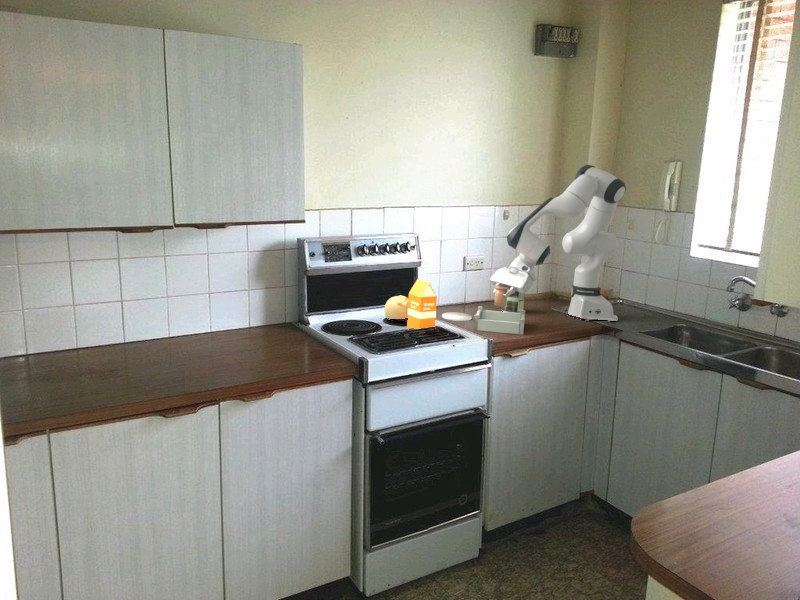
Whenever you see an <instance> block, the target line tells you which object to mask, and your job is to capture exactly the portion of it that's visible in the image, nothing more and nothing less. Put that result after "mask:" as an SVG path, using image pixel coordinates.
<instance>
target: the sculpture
mask: <svg viewBox="0 0 800 600" xmlns="http://www.w3.org/2000/svg"><path fill="white" fill-rule="evenodd" d="M408 300H409V297H408V296H405V295H403V294H402V295H401V294H400V295H395V296H392V297H390V298H389V299H388V300H387V301H386V303H385V305H384V314H385V317H386V318H387V319H388V318H389V319H388V320H390V319H405V318H408Z"/></svg>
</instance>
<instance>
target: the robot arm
mask: <svg viewBox="0 0 800 600" xmlns="http://www.w3.org/2000/svg"><path fill="white" fill-rule="evenodd" d="M626 191H627V187H626V183H625V182H624V181H623V180H622V179H621V178H617V176H615V175H613V174H612V173H610V172H608V171H605V170H602V169H601V168H598V167H596V166H595V165H591V164H585V165H583V166H581V167H580V168H579V169H578V170H577V171H576V174H575V177H574V180H573V181H572V182H571V183H570V184H569V185H568V186H567V188H566V189H565V190H564V191H563V193H561V194H560V195H559V196H556V197H549V198H547V199H546V200H544V201H543V202H542V203H541V204H540V205H539V206H537V208H535V209H534V210H533V211H532V212H531V213H530V214H528V215H527V216H526V217H525V218H524V219H523V220H522V221H521V222H520V223H518V224H517V225H515V226H514V227H512V228H511V229H510V230H509V232H508V233H507V235H506V241H507V244H508V246H509V247H510V248H512V249H513V250H516V251H517V252H518V253H519V255H518V256H516V257H515V258H514V259H513V260H512V262H511V263H510V265H509V266H508V267H507V266H503V267H500V268H498V269H497V270H496V271H495V272H494V273H493V274H492V275H491V276H490V278H489V280H490V283H491V284H492V285H494V286H495V285H505V286H508V287H509V289H510V290H509V291H507V292H505V293H504V294H503V295H504V297H506V298H508V297H509V295H511V294H513V293H514V292H515V291H518V292H521V293H525V294H526V293H527V292H528V291H529V290H531V288H532V286H533V284H534V282H535V281H537V279H538V278H537V276H536V274H535V273H534V271H533V270H534V268H535V266H540V265H542V264H544V261H546V259H547V258H548V257H549V256H550V255H551V247H550V245H549V243H547V241H545V240H544V239H543V238H541V237H539V236H538V235H536V233H534V232H533V231H531V230H530V228H531V227H532V226H533V225H534V224H535V223H536V222H537V221H539V220H540V219H541V218H542V217H543V216H546V215H551V216H556V217H559V218H563V219H575V218H577V217H579V216H581V214H582V213H583V212H584V211H585V210H586V209H587V211H586V214H585V217H584V218H583V219H582V220H581V222H580V223H579V224H578V225H577V226H576V227H575V228H574V229H572V230H571V231H568V232H567V233H565V235H564V236H563V238H562V242H561V245H562V249H563V251H564V252H565V254H568V255H572V256H578V257H580V256H581V257H583V256H585V257H586V259H585V260H584V262H582V263H580V264H578V265H577V266H576V267H575V270H574V276H573V277H574V278H573V283H572V286H571V293H570V296H571V299H570V303H569V307H568V310H567V312H568V314H569V315H572V316H576V317H580V318H587V319H598V320H608V321H607V322H610V321H616V322H618V320H619V319H618V316H617V315H616V314H614V308H613V305H612V303H611V302H610V301H608V299H606V298H605V297H604V296H603V295H604V294H605V290H604V289H602V287H599V283H600V276H601V272H602V269H603V266H604V264H605V263H606V261H607V260H608V259H609V258H610V257H612V256H613V255H614V254H615V253H616V252H617V250H618V248H619V241H618V238H617V236H616V235H615V234H613V233H610V232H606V231H603V230H605V229H607V228H608V227H609V226H610V225H611V224H612V221H613V218H614V216H615V212H616V210H617V207H618V203H619V202H620V201H621V200H622V199H623V197H624V196H625V194H626ZM587 207H588V208H587ZM492 293H493V295H495V288H494V289H493V291H492Z"/></svg>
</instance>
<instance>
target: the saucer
mask: <svg viewBox="0 0 800 600" xmlns="http://www.w3.org/2000/svg"><path fill="white" fill-rule="evenodd" d="M441 317H442V319H444V320H447V321H452V322H469V321H471V320H472V319H473V316H472V315H471V314H469V313H465V312H458V311H457V312H456V311H455V312H453V311H452V312H451V311H450V312H443V313H442V314H441Z"/></svg>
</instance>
